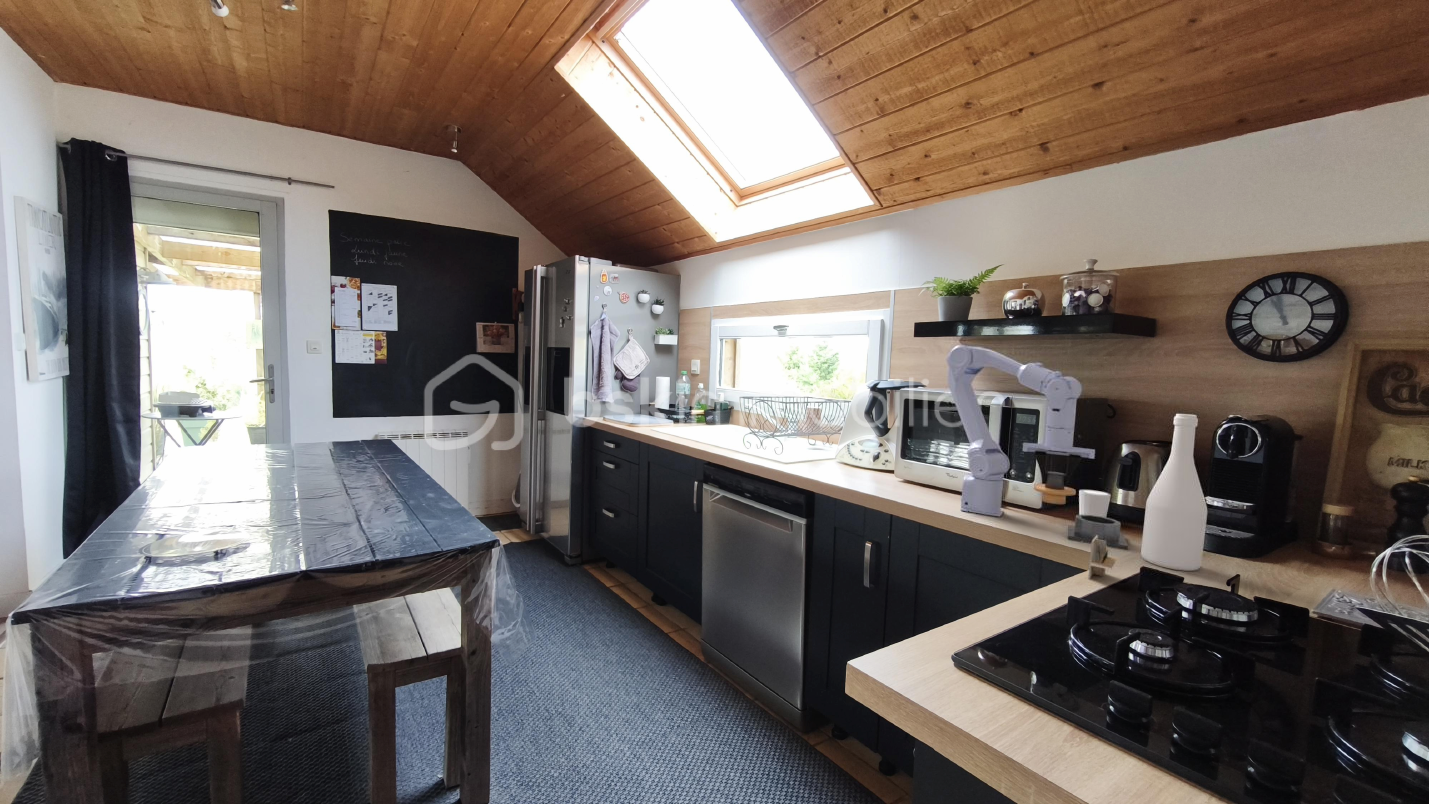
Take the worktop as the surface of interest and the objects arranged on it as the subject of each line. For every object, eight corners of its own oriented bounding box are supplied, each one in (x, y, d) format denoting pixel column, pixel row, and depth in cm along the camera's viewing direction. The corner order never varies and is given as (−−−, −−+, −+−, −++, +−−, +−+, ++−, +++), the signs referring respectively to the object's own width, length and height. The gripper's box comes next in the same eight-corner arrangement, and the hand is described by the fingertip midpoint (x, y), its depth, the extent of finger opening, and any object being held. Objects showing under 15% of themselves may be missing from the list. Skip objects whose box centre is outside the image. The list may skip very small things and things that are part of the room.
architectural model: (1114, 578, 108) (1118, 539, 107) (1109, 588, 103) (1113, 547, 102) (1093, 573, 110) (1096, 534, 110) (1086, 583, 105) (1090, 542, 104)
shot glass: (1098, 516, 153) (1101, 490, 153) (1114, 523, 147) (1116, 496, 146) (1071, 514, 154) (1073, 488, 153) (1085, 521, 147) (1087, 494, 147)
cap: (1031, 502, 137) (1034, 473, 136) (1033, 495, 144) (1035, 468, 144) (1074, 508, 133) (1077, 478, 132) (1074, 501, 140) (1076, 473, 139)
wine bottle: (1173, 572, 111) (1190, 416, 109) (1128, 555, 120) (1144, 411, 118) (1213, 571, 113) (1231, 417, 111) (1166, 555, 122) (1182, 412, 120)
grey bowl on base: (1067, 539, 130) (1069, 520, 130) (1067, 528, 140) (1069, 510, 139) (1127, 549, 125) (1129, 529, 124) (1123, 537, 134) (1125, 519, 134)
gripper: (1024, 426, 137) (1019, 482, 138) (1097, 432, 130) (1091, 492, 131) (1025, 424, 144) (1021, 478, 144) (1096, 429, 136) (1090, 487, 137)
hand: (1054, 484), depth 138 cm, fingers closed on cap, 4 cm apart
